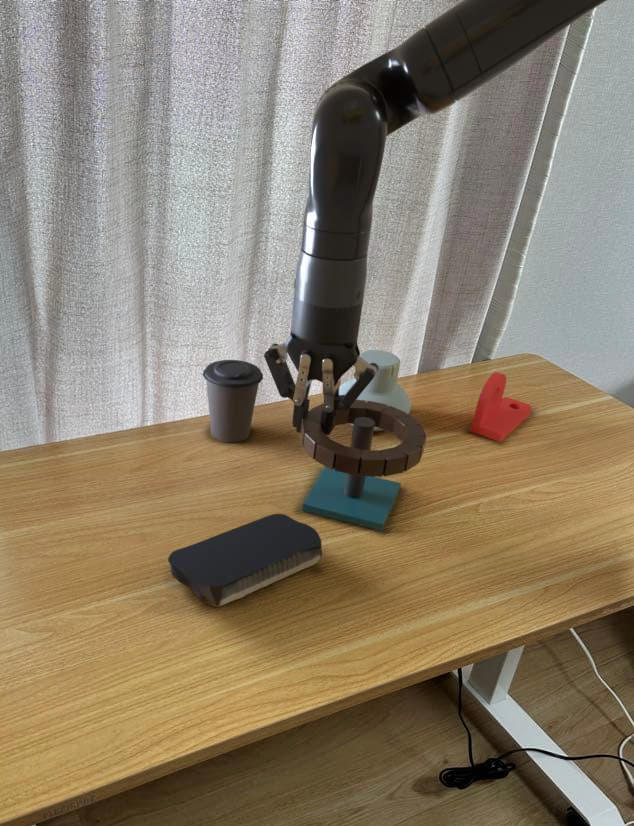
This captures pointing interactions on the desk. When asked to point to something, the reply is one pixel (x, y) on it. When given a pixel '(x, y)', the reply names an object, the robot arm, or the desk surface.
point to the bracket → (497, 410)
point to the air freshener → (382, 382)
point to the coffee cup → (231, 398)
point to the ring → (365, 460)
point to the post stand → (353, 489)
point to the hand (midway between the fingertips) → (312, 432)
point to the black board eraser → (246, 558)
